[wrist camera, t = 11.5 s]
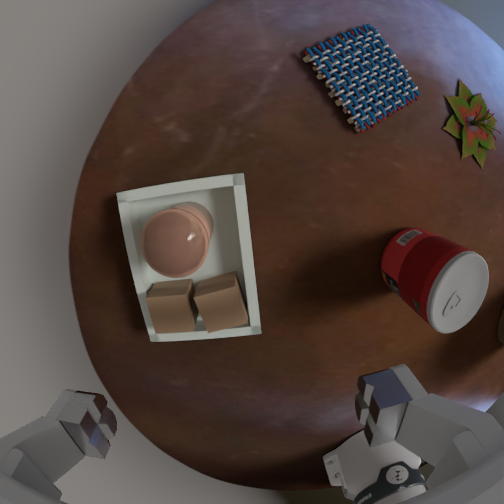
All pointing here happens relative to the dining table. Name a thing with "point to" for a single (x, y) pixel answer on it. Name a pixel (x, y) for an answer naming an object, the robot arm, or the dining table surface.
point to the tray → (220, 246)
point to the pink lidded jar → (177, 239)
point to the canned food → (435, 277)
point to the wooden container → (501, 327)
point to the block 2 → (221, 302)
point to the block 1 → (173, 306)
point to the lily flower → (480, 114)
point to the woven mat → (363, 76)
